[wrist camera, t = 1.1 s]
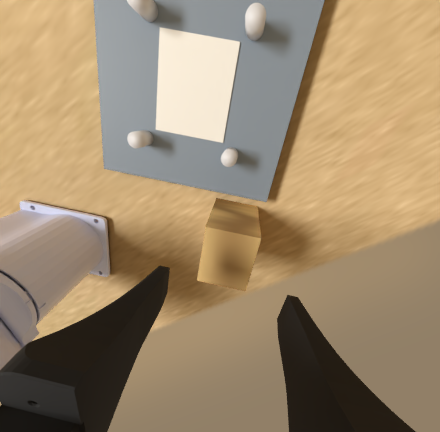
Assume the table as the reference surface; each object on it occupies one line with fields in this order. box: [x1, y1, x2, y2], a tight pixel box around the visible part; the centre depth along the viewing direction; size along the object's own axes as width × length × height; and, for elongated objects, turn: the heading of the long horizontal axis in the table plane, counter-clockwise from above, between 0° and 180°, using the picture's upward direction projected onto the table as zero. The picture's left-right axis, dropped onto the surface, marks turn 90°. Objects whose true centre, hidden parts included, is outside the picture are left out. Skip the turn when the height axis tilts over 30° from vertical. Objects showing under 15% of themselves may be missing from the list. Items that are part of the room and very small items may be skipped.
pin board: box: [94, 0, 325, 202], centre depth 16 cm, size 15×15×3 cm
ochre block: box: [197, 198, 261, 291], centre depth 19 cm, size 4×5×6 cm
